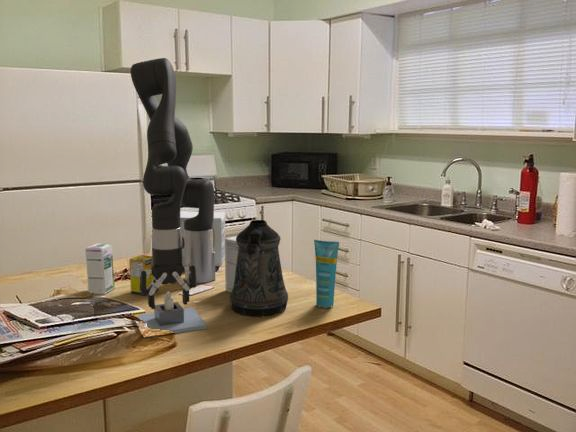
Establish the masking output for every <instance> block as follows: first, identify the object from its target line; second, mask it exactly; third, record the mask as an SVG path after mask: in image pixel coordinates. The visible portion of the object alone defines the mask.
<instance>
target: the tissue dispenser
mask: <svg viewBox="0 0 576 432" xmlns="http://www.w3.org/2000/svg"><path fill="white" fill-rule="evenodd" d="M153 310H154V312H153V313H155V319H156V321H157V322H158V324H159V325H160V326H163V325H170V324H176V323H183V322H184V307H182V306H181V304H180V303H179V301H175V302H174V301H173V309H172V310H165V303H162V304H161V303H160V304H159V303H158V304H155V309H153Z"/></svg>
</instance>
